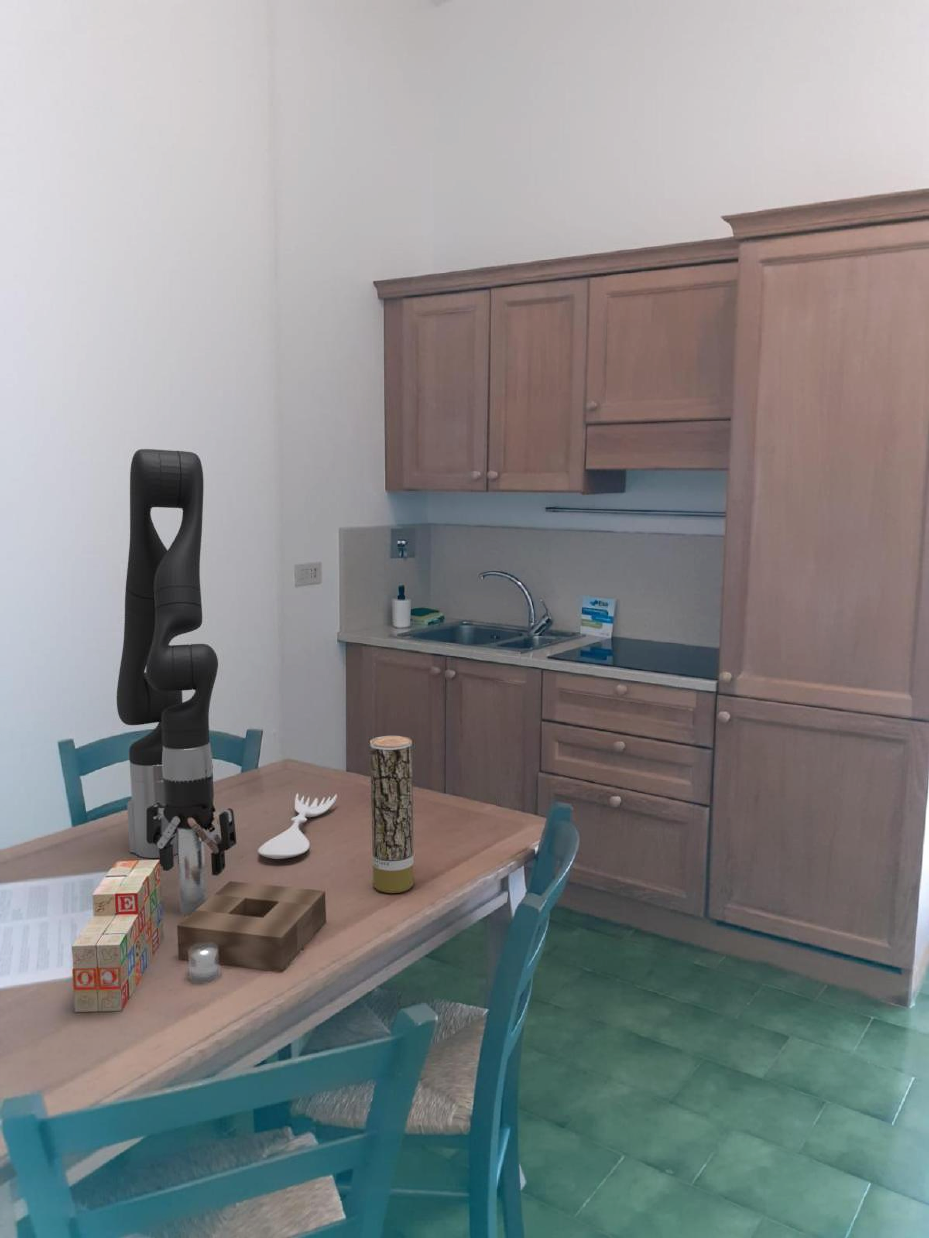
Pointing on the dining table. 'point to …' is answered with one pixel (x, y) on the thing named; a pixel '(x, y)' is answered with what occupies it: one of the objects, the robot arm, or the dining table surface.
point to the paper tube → (392, 813)
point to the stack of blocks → (118, 936)
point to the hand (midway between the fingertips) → (192, 871)
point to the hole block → (255, 924)
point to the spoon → (295, 831)
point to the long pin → (191, 870)
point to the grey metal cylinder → (204, 962)
